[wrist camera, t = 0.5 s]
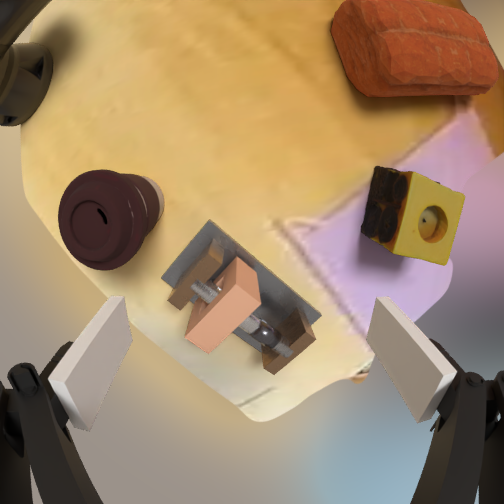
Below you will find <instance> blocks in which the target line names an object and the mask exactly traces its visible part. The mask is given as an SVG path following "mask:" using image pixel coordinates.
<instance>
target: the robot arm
mask: <svg viewBox="0 0 504 504" xmlns="http://www.w3.org/2000/svg"><path fill="white" fill-rule="evenodd" d="M51 1H52V0H0V125H1V126H17V125H19V124H21V123H23V122H24V121H26V120H27V119H28V118H29V117H30V116H31V115H32V114H33V113H34V112H35V111H36V109H37V108H38V106H39V105H40V103H41V102H42V100H43V98H44V96H45V94H46V92H47V90H48V87H49V84H50V81H51V77H52V71H53V60H52V56H51V53H50V51H49V50H48V49H47V48H46V47H44V46H42V45H39V44H37V43H19V44H13V42H15V40H16V39H17V38H18V37H19V35H20V34H21V33H22V32H23V31H24V29H25V28H26V27H27V26H28V25H29V24H30V23H31V21H32V20H33V19H34V18H35V17H36V16H37V15H38V14H39V13H40V12H41V11H42V10H43V9H44V8H45V7H46V6H47V4H48V3H49V2H51ZM366 340H367V342H368V344H369V345H370V347H371V348H372V350H373V351H374V353H375V354H376V356H377V357H378V359H379V361H380V362H381V364H382V365H383V367H384V369H385V370H386V372H387V373H388V375H389V377H390V378H391V380H392V382H393V383H394V385H395V387H396V388H397V390H398V391H399V393H400V395H401V396H402V398H403V400H404V401H405V403H406V405H407V406H408V408H409V410H410V412H411V413H412V415H413V417H414V418H415V420H416V421H417V423H419V422H423V421H426V420H429V419H431V417H432V416H433V414H434V413H435V411H436V409H437V410H438V412H439V413H440V415H439V417H438V418H437V420H436V421H435V423H434V425H433V426H432V428H431V429H430V431H432V430H433V429H434V428H435V430H434V434H433V438H432V441H431V445H430V449H429V452H428V456H427V459H426V463H425V465H424V468H423V471H422V474H421V478H420V480H419V482H418V485H417V488H416V491H415V493H414V496H413V498H412V501H411V503H410V504H474V502H475V498H476V493H477V489H478V486H479V504H504V371H500V372H498V374H497V375H496V377H495V379H494V380H487V381H485V380H484V379H483V378H482V377H481V376H480V375H479V374H477V373H474V372H467V373H465V372H464V371H463V369H462V368H461V367H460V366H459V365H458V364H457V363H456V361H455V360H454V359H453V358H452V357H451V356H449V354H448V353H447V352H446V351H445V349H444V348H443V347H442V346H441V345H440V344H439V343H437V342H436V341H434V340H432V339H428V338H427V337H426V336H425V335H424V334H423V333H422V331H421V330H420V329H419V328H418V327H417V326H416V325H415V324H414V323H413V322H412V321H411V320H410V319H409V318H408V317H407V316H406V314H405V313H404V312H403V311H402V310H401V309H400V308H399V307H398V306H397V305H396V304H395V303H394V302H393V301H392V300H391V299H390V298H389V297H376V301H375V306H374V310H373V314H372V318H371V323H370V327H369V330H368V334H367V338H366ZM132 341H133V340H132V336H131V332H130V326H129V321H128V316H127V311H126V305H125V300H124V296H110V297H109V299H108V300H107V301H106V302H105V304H104V305H103V306H102V307H101V309H100V310H99V311H98V312H97V313H96V315H95V316H94V317H93V318H92V320H91V321H90V322H89V324H88V325H87V326H86V327H85V329H84V330H83V331H82V333H81V334H80V335H79V336H78V338H77V339H76V340H75V342H70V341H69V342H67V343H66V344H65V345H63V346H62V347H60V349H59V350H58V351H57V353H56V354H55V356H53V358H52V359H51V361H50V362H49V363H48V364H47V366H46V367H45V368H44V370H43V371H42V373H41V374H40V375H38V373H37V371H36V369H35V367H34V366H33V365H32V364H31V363H20V364H17V365H15V366H14V367H13V368H11V369H10V371H9V372H8V376H7V378H8V380H9V381H10V384H11V385H12V387H13V389H5V388H4V386H3V384H2V382H1V381H0V504H33V500H32V489H31V477H30V465H31V469H32V472H33V475H34V479H35V482H36V485H37V487H38V490H39V493H40V496H41V499H42V502H43V504H103V502H102V500H101V499H100V497H99V495H98V493H97V491H96V489H95V488H94V486H93V484H92V482H91V480H90V478H89V476H88V474H87V472H86V470H85V468H84V465H83V463H82V461H81V459H80V457H79V454H78V452H77V450H76V447H75V445H74V442H73V440H72V437H71V435H70V432H69V430H68V428H67V426H66V423H67V421H68V419H70V421H71V423H72V424H73V426H74V427H75V428H78V429H82V430H86V431H90V430H91V428H92V425H93V423H94V421H95V418H96V416H97V414H98V412H99V409H100V407H101V405H102V403H103V401H104V398H105V396H106V394H107V392H108V390H109V388H110V386H111V383H112V381H113V379H114V377H115V375H116V373H117V371H118V369H119V367H120V364H121V363H122V360H123V359H124V356H125V355H126V353H127V351H128V349H129V347H130V345H131V343H132ZM499 413H500V415H501V418H500V420H499V421H498V419H497V416H498V415H499Z"/></svg>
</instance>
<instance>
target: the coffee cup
mask: <svg viewBox="0 0 504 504" xmlns="http://www.w3.org/2000/svg"><path fill="white" fill-rule="evenodd" d="M163 209H164V196H163V193H162V191H161V189H160V187H159V186H158V185H157V183H156V182H154V181H153V180H152V179H150V178H148V177H144V176H138V175H134V174H120V173H117V172H114V171H111V170H93V171H88V172H86V173H83V174H81V175H79V176H78V177H76V178H75V179H74V180H73V181H72V182H71V183H70V184H69V185H68V187H67V188H66V190H65V192H64V194H63V196H62V198H61V201H60V205H59V212H58V222H59V229H60V233H61V236H62V239H63V241H64V243H65V245H66V247H67V249H68V250H69V251H70V253H71V254H72V255H73V256H74V257H75V258H76V259H77V260H78V261H79V262H81V263H82V264H84V265H86V266H87V267H90V268H93V269H96V270H112V269H115V268H118V267H120V266H122V265H124V264H125V263H127V262H128V261H129V260H130V259H131V258H132V257H133V256H134V255H135V254H136V253H137V252H138V250H139V249H140V247H141V245H142V243H143V241H144V238H145V237H146V236H147V235H148V233H149V232H150V231H151V230H152V229H153V227H154V226H155V224H156V222H157V221H158V220H159V218H160V217H161V215H162V212H163Z"/></svg>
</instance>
